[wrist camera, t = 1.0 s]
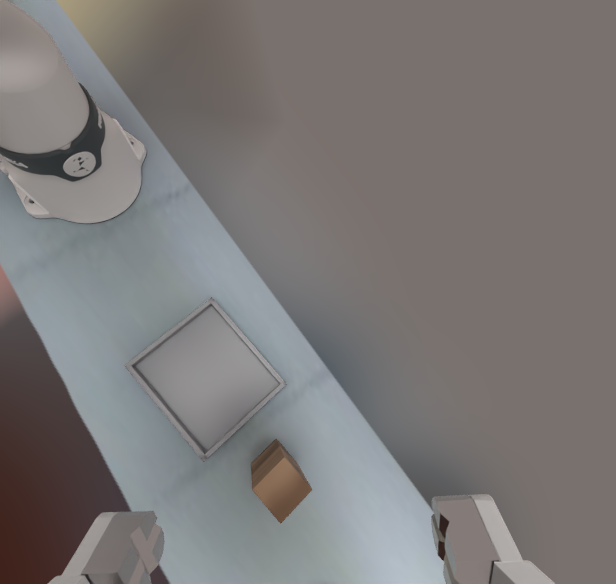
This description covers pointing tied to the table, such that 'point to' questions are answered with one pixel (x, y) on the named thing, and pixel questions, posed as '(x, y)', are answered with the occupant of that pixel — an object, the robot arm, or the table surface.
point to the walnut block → (278, 481)
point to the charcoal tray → (206, 377)
